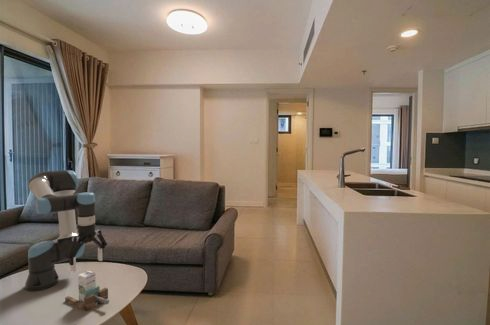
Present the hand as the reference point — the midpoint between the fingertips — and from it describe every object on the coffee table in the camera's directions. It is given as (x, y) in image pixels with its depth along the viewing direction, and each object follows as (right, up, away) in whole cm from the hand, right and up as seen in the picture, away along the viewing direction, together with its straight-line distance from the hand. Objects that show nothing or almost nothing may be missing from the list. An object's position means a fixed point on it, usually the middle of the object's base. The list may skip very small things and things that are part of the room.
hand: (87, 265), depth 136 cm
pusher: (+8, -18, -3) cm, 20 cm away
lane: (-1, -18, +1) cm, 19 cm away
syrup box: (0, -19, +1) cm, 19 cm away
